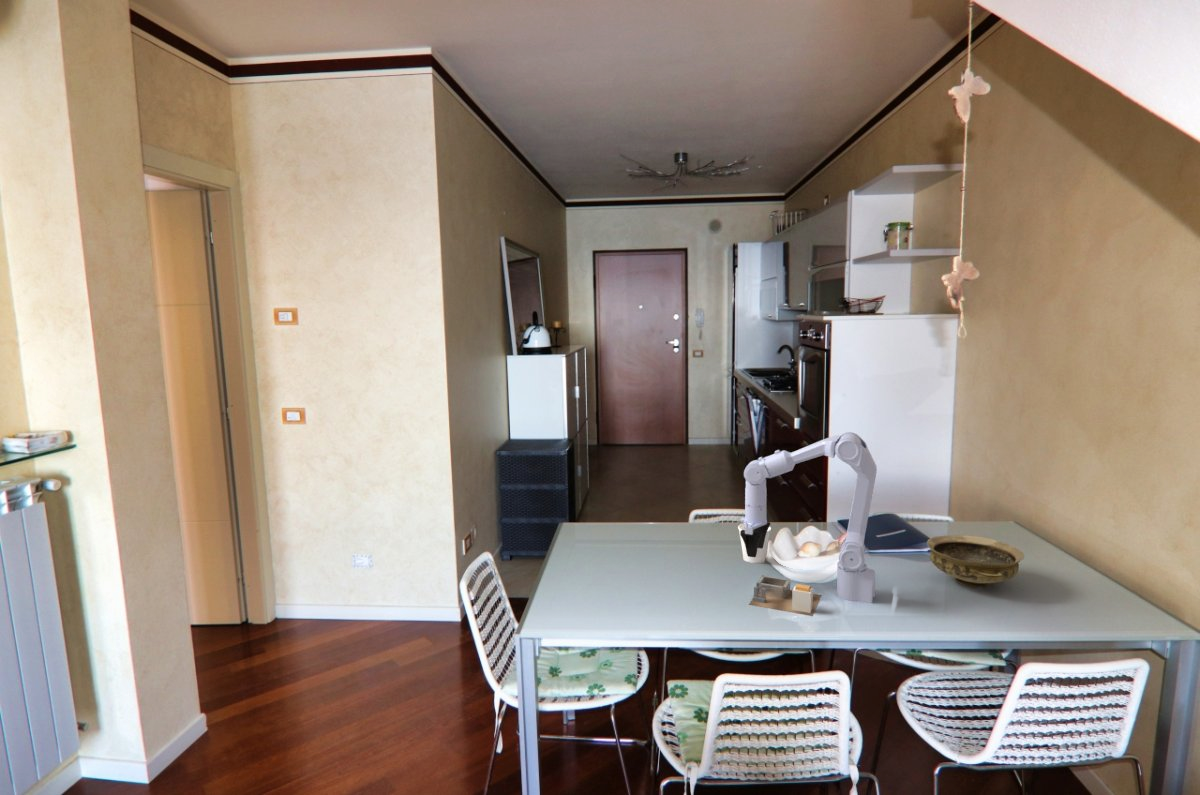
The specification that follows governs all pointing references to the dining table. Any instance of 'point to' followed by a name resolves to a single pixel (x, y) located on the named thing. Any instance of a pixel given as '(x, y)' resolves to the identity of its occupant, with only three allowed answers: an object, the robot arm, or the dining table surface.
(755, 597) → the clip
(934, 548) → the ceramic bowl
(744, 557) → the cup
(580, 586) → the dining table surface
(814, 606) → the board
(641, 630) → the dining table surface
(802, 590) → the connector
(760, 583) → the end holder
